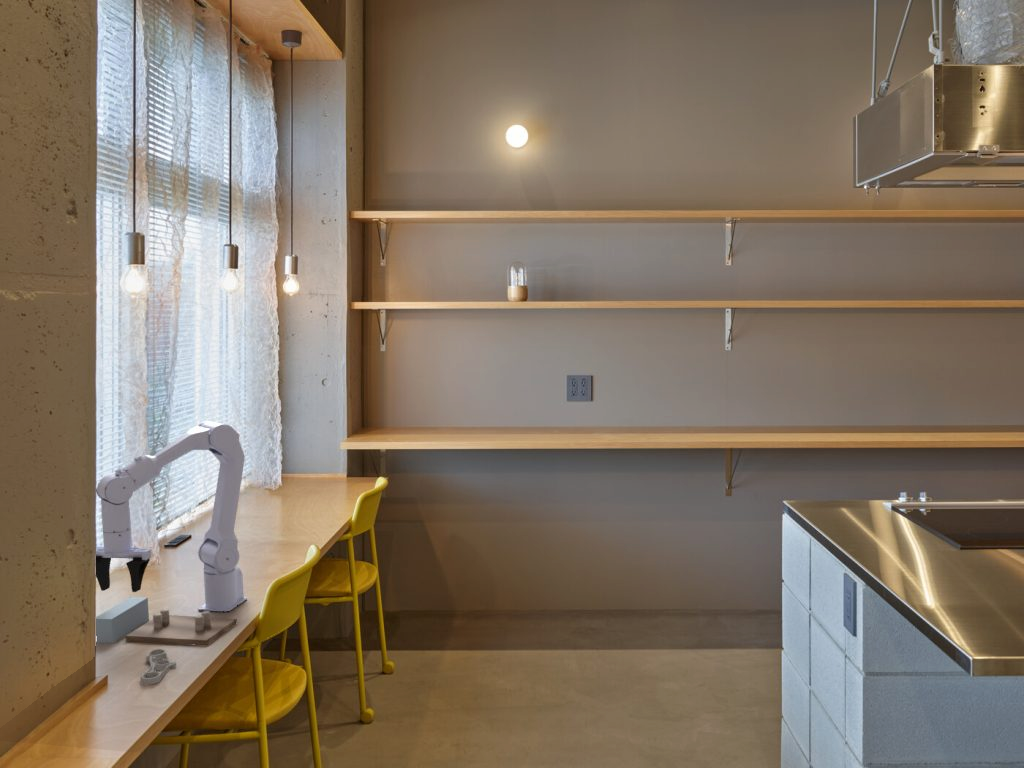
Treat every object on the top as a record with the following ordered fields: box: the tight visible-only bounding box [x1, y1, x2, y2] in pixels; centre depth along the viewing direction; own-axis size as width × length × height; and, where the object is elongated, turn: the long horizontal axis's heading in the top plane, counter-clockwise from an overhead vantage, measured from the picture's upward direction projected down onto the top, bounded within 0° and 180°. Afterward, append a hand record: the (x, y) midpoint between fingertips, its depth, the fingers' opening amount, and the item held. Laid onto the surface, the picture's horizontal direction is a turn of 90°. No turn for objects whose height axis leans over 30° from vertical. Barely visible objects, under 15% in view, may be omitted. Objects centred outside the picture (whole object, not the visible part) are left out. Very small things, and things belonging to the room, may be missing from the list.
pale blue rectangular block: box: [96, 596, 150, 644], centre depth 202 cm, size 14×4×6 cm, turn 171°
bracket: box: [140, 648, 177, 686], centre depth 181 cm, size 8×2×15 cm
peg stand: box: [125, 608, 238, 646], centre depth 201 cm, size 13×19×4 cm
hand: (120, 590), depth 201 cm, fingers open, 7 cm apart
